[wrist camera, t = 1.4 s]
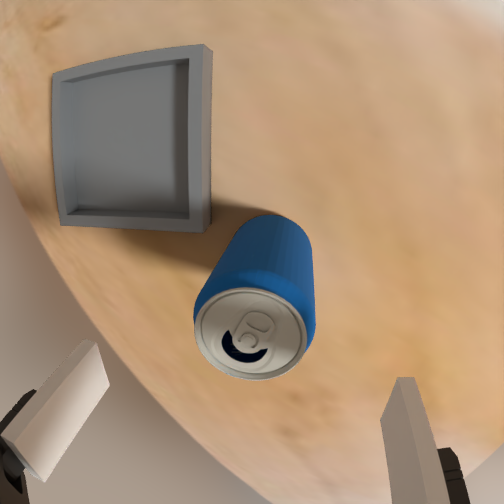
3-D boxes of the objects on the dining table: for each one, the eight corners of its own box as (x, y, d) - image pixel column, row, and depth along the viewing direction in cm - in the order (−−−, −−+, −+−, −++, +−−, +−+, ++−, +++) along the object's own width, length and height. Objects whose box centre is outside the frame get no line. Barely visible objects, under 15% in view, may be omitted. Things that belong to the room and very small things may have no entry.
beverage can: (220, 264, 28) (170, 352, 17) (253, 197, 25) (215, 255, 14) (287, 298, 28) (275, 401, 17) (326, 236, 25) (342, 319, 14)
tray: (69, 75, 23) (52, 73, 21) (212, 51, 21) (203, 43, 19) (75, 217, 28) (60, 225, 26) (211, 223, 26) (202, 233, 24)
